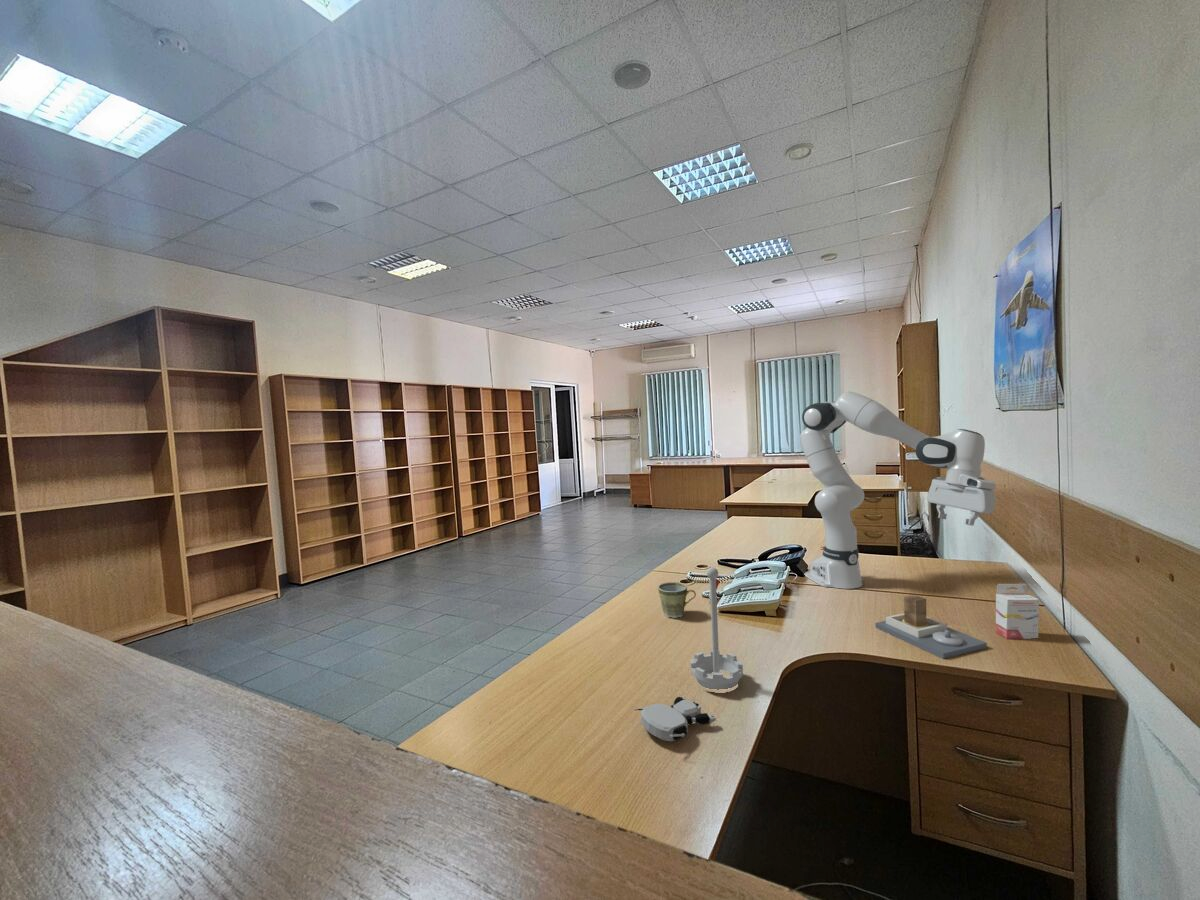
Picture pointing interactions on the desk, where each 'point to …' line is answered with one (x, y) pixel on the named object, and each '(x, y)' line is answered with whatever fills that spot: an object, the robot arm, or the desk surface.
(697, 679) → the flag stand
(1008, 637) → the ink cartridge box
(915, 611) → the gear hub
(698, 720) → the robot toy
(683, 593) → the ceramic cup
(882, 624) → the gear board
